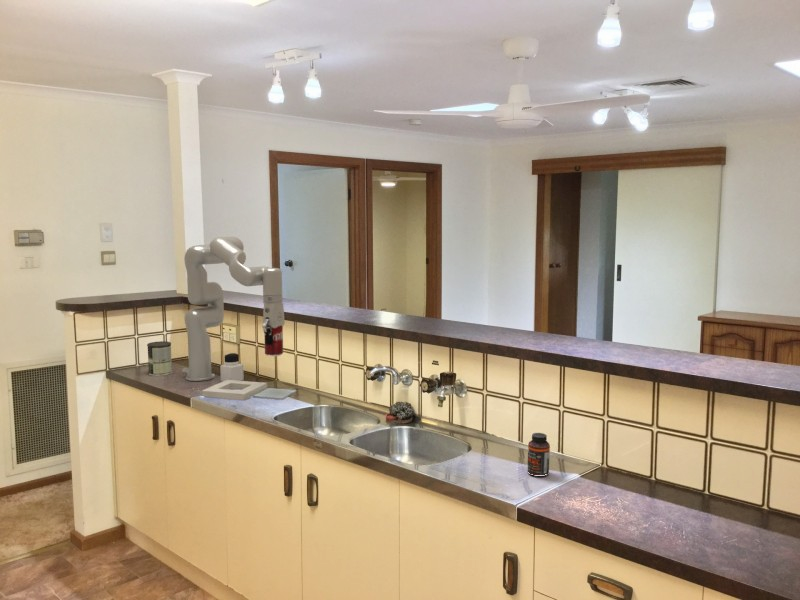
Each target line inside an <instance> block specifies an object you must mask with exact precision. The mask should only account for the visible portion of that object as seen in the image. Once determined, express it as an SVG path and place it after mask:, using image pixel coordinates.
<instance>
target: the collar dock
mask: <svg viewBox="0 0 800 600" xmlns="http://www.w3.org/2000/svg"><path fill="white" fill-rule="evenodd" d="M267 388H268V382H259V381H247V380H242V381H236V380H225V381H221V382H219V383H216V384H214V385H212V386H209V387H207V388H204V389H203V390H201V397H202V396H204V397H203V398H212V399H213V398H214V399H224V400H226V399H227V400H236V401H237V400H238V401H246V400H248V399H249V398H250V399H251V398H253V396H254V395H255V394H257V393H259V392H261V391H263V390H265V389H267Z"/></svg>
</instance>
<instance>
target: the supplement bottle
mask: <svg viewBox="0 0 800 600" xmlns="http://www.w3.org/2000/svg"><path fill="white" fill-rule="evenodd" d="M547 437H548V436H547V434H545V433H542V432H534V433H532V435H531V440H530V441H529V442H528V445H527V468H526V469H527V473H528V472H529V473H530V474H533V475H545V474H548V473H550V451H551V449H550V448H551V446H550V443H549V442H548V441H547ZM530 474H529V475H530ZM548 475H549V474H548Z"/></svg>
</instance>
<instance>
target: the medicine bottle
mask: <svg viewBox="0 0 800 600" xmlns="http://www.w3.org/2000/svg"><path fill="white" fill-rule="evenodd" d="M239 359H240V355H239V354H238V353H236V352H230V353H226V354H224V364H221V365H220V367H219V368H220V381H221V382H223V381H225V380H236V381H245V379H244V376H245V375H244V374H245V373H244V364H243V363H239V362H240V360H239Z"/></svg>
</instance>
